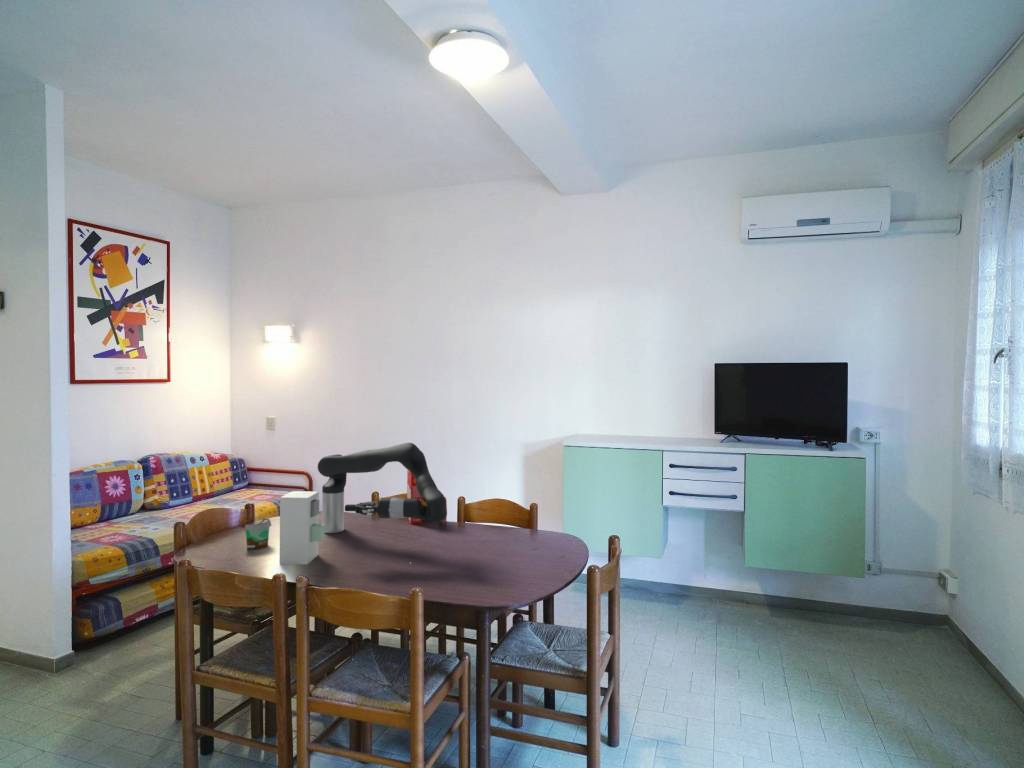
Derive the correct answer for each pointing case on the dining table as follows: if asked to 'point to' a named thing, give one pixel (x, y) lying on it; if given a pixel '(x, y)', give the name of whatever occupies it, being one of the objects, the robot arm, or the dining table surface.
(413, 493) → the food packaging
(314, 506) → the grey square block
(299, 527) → the key tower
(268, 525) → the food container
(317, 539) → the sage key
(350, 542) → the dining table surface
